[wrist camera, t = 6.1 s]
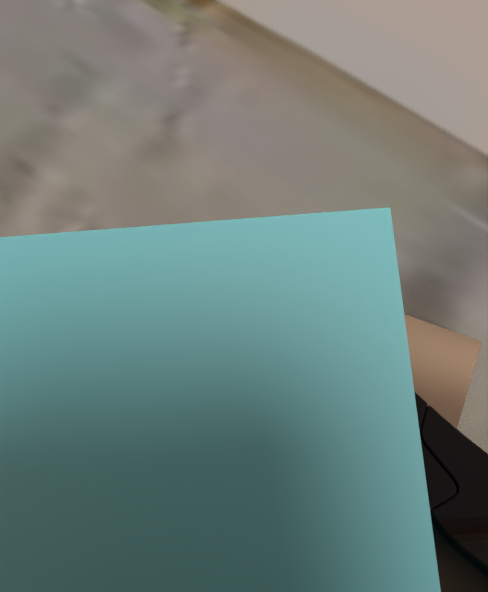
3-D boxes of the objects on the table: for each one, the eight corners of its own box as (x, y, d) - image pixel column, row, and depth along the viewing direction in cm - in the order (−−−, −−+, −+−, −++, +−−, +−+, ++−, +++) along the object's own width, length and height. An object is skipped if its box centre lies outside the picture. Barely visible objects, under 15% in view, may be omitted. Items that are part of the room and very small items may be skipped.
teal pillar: (296, 425, 16) (457, 717, 3) (188, 432, 16) (-69, 744, 3) (287, 317, 16) (390, 207, 4) (183, 324, 16) (-45, 240, 4)
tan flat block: (401, 509, 21) (425, 535, 18) (232, 441, 22) (229, 456, 19) (451, 342, 22) (481, 341, 19) (289, 284, 23) (294, 274, 20)
